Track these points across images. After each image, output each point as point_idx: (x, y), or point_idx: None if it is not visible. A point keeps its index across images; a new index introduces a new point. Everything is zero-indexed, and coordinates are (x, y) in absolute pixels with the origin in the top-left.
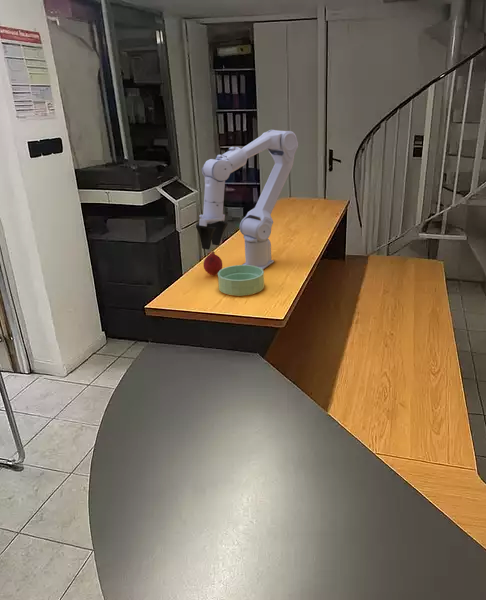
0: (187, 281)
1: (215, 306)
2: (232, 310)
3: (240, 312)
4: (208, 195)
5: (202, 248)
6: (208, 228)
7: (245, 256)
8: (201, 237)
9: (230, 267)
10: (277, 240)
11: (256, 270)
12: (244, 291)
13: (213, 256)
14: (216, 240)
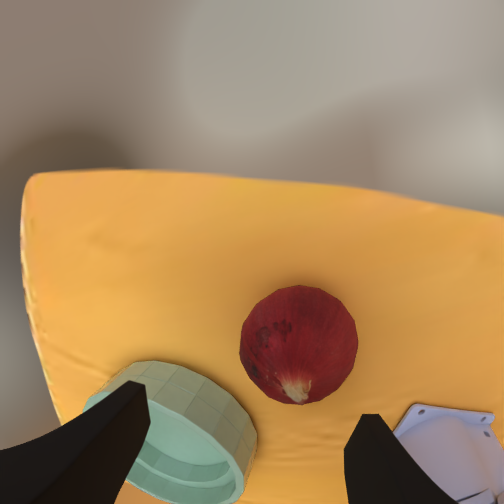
0: (214, 202)
1: (57, 350)
2: (58, 386)
3: (59, 400)
4: None
5: (125, 382)
6: None
7: (432, 446)
8: (60, 440)
9: (208, 438)
10: None
11: (223, 494)
12: None
13: (270, 388)
14: (357, 469)
